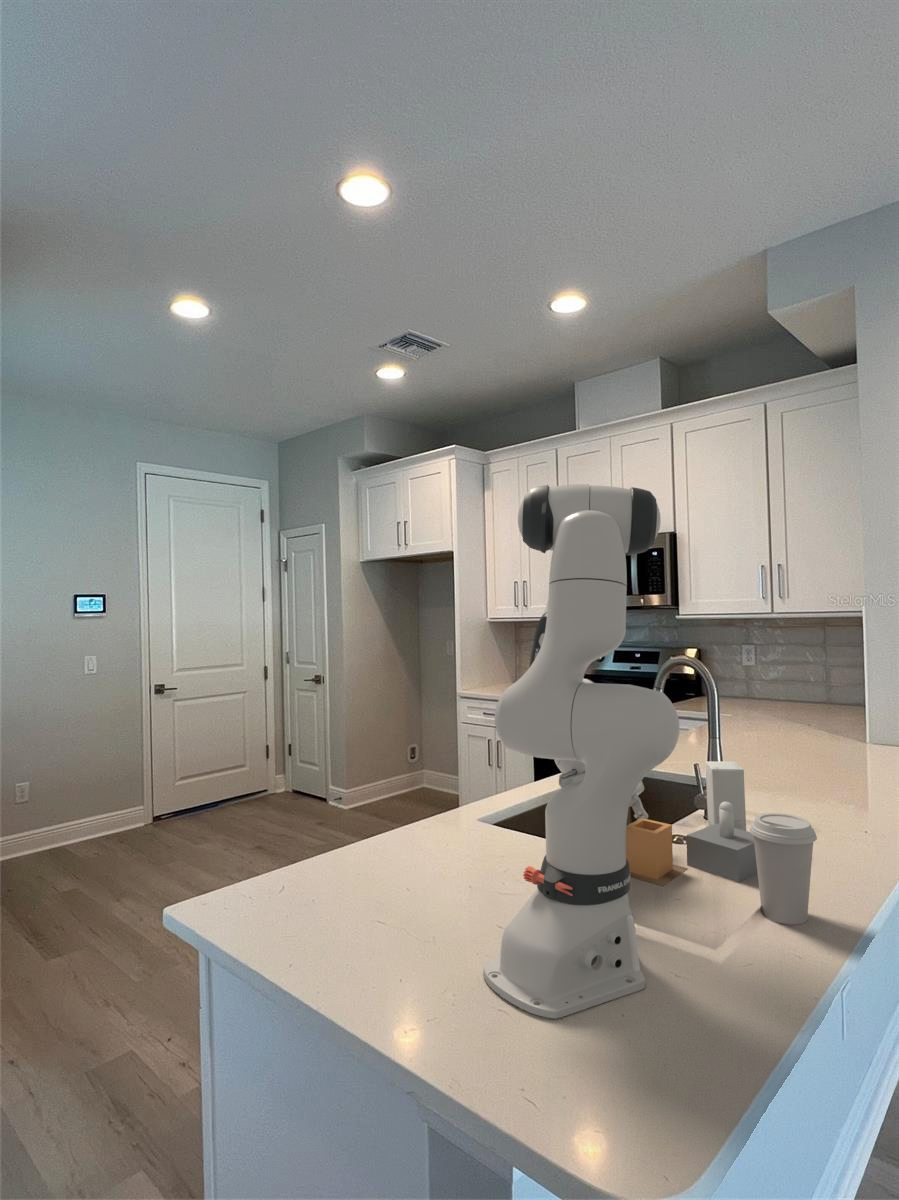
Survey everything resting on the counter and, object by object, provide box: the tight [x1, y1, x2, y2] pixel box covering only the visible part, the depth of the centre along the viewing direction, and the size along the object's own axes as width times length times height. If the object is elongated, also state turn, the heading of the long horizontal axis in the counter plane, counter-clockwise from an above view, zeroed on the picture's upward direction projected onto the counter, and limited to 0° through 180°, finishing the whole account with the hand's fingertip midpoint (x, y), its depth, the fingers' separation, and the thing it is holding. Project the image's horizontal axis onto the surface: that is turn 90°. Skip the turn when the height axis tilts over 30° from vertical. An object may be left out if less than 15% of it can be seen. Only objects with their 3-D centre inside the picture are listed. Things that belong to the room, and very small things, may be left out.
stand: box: [630, 864, 689, 887], centre depth 125 cm, size 10×10×9 cm
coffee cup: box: [749, 812, 818, 926], centre depth 110 cm, size 10×10×15 cm
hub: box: [686, 802, 758, 883], centre depth 126 cm, size 10×10×13 cm
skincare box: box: [704, 760, 747, 831], centre depth 144 cm, size 8×7×16 cm
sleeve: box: [626, 818, 674, 879], centre depth 125 cm, size 6×6×8 cm
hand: (632, 826), depth 128 cm, fingers open, 8 cm apart
